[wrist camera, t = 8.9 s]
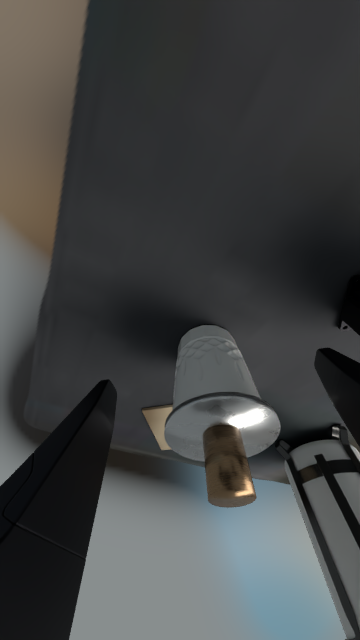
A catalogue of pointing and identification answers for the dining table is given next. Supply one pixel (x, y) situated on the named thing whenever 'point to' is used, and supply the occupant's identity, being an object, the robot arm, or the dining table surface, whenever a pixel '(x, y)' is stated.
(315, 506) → the coffee press
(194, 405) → the lid
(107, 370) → the dining table surface
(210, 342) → the white cup
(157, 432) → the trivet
